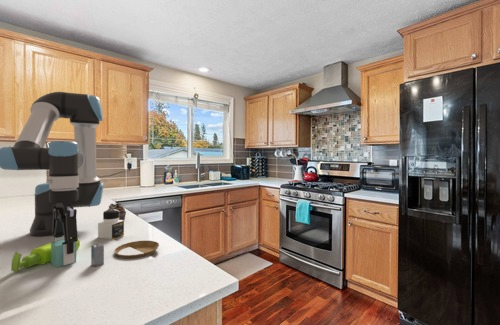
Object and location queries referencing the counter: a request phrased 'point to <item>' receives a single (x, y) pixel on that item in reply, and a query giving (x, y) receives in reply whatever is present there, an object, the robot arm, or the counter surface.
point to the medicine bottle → (111, 225)
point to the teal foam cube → (58, 253)
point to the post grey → (97, 255)
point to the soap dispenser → (34, 257)
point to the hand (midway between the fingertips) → (64, 259)
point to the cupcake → (119, 208)
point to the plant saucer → (139, 248)
